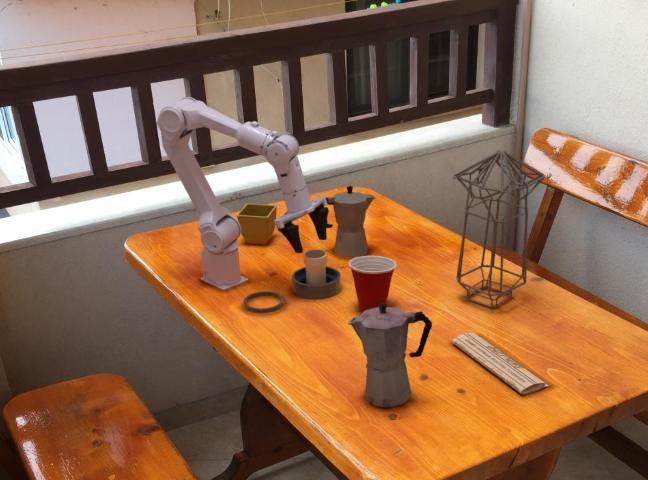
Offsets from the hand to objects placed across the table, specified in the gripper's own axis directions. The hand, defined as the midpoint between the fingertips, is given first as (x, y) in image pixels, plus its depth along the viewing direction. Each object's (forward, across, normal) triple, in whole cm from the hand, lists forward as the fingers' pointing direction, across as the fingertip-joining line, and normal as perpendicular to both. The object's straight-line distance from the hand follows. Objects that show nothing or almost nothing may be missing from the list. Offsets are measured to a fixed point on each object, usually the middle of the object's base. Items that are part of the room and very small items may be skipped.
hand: (311, 245), depth 200 cm
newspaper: (+25, +2, -48) cm, 54 cm away
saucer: (+10, -14, +6) cm, 18 cm away
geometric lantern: (+23, +25, -28) cm, 44 cm away
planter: (+12, 0, +4) cm, 12 cm away
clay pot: (+12, 0, +4) cm, 12 cm away
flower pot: (+5, +11, +37) cm, 39 cm away
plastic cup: (+16, +2, -13) cm, 21 cm away
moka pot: (+20, -22, -40) cm, 50 cm away
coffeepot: (+12, +21, +15) cm, 29 cm away
